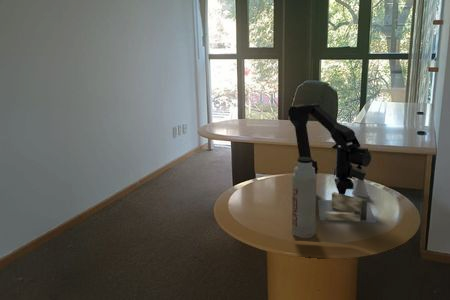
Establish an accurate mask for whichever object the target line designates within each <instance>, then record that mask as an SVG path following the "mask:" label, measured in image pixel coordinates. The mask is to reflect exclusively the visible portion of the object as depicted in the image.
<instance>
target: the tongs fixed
mask: <svg viewBox="0 0 450 300" xmlns="http://www.w3.org/2000/svg"><path fill="white" fill-rule="evenodd" d="M367 202H368V200H367V199H366V200H365V199H362V204H361V215H360V211H354V213H349V212H326V211H325V220H324V221H330V220H344V221H343V222H350V221H360V216H361V219H362V220H366V216H367Z"/></svg>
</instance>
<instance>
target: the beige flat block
mask: <svg viewBox="0 0 450 300" xmlns="http://www.w3.org/2000/svg"><path fill="white" fill-rule="evenodd" d="M331 200H332V206H331V207H332V208H335V209H338V210H342V211H345V212H349V213H354V211H360V215H361V204H362V200H363V199H362V198H358V197H356V196H350V195H347V194H345V195H343V194H340V193H339V192H336V191H334V192H332V193H331Z"/></svg>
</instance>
